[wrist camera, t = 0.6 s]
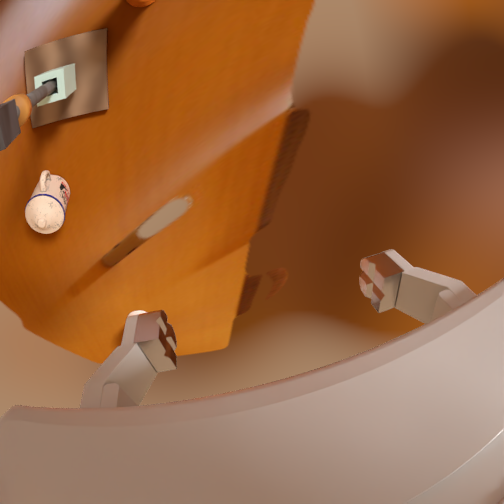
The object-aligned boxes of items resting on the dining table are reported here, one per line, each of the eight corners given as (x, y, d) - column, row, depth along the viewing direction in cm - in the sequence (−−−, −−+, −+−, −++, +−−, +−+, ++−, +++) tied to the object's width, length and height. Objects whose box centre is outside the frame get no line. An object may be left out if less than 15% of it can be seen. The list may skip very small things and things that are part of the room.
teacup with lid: (72, 207, 52) (65, 242, 44) (38, 210, 48) (26, 244, 40) (69, 159, 44) (57, 187, 37) (31, 162, 40) (14, 191, 33)
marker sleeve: (51, 95, 32) (37, 106, 27) (49, 70, 28) (34, 77, 23) (76, 89, 34) (65, 98, 28) (74, 63, 30) (63, 67, 25)
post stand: (35, 125, 36) (-41, 229, 15) (27, 50, 25) (-81, 90, 4) (109, 107, 41) (80, 193, 21) (107, 28, 30) (60, 14, 9)
